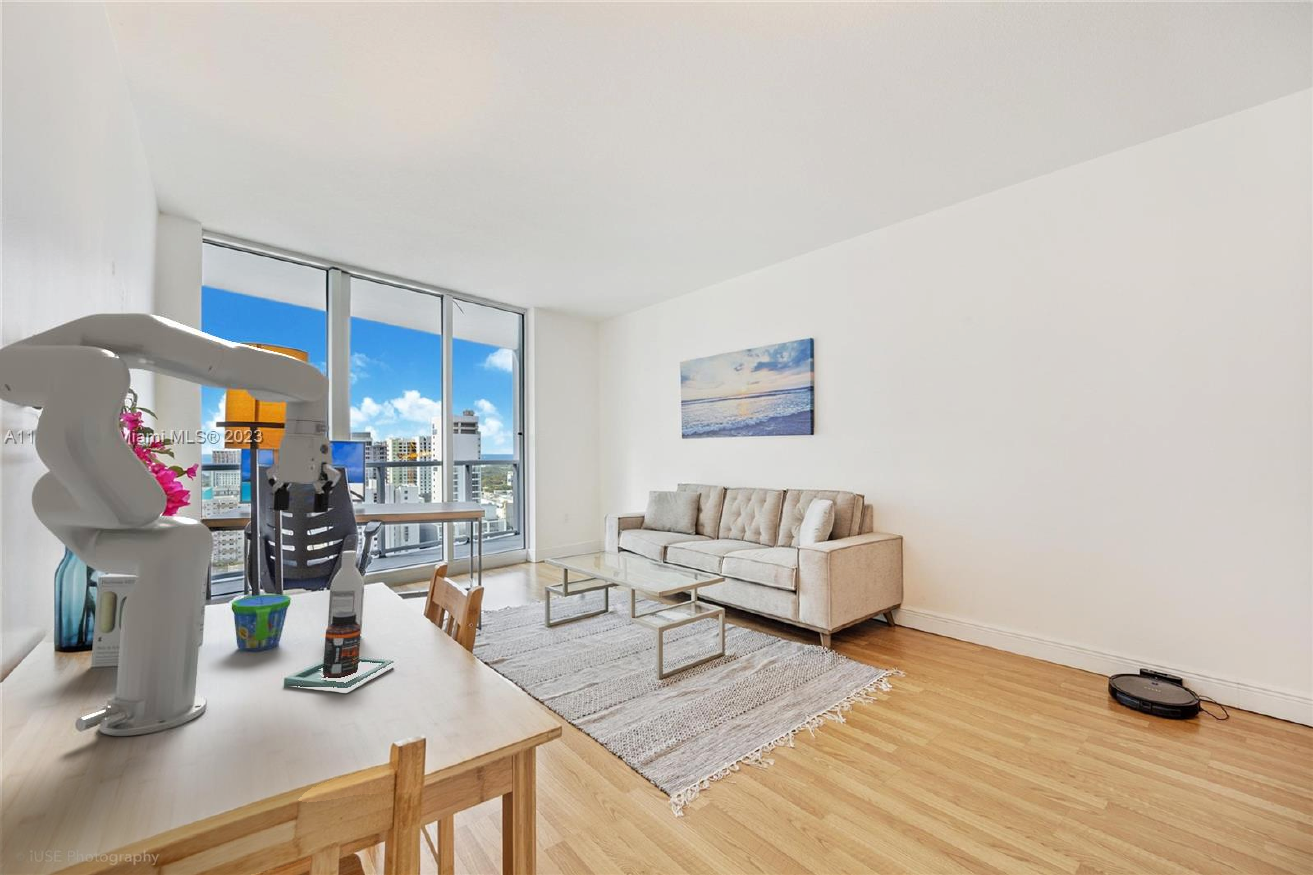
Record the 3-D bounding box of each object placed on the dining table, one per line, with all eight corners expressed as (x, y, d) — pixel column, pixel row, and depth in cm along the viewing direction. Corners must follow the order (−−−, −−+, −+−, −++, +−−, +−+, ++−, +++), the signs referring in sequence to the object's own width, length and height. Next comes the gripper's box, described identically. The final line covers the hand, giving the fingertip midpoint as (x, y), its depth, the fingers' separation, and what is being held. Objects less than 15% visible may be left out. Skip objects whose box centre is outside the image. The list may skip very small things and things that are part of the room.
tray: (346, 694, 99) (346, 685, 100) (283, 686, 102) (284, 678, 102) (393, 668, 112) (393, 660, 112) (336, 662, 115) (337, 654, 115)
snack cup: (286, 654, 118) (289, 605, 119) (223, 661, 113) (227, 610, 113) (289, 633, 132) (291, 590, 132) (233, 639, 126) (236, 594, 127)
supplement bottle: (342, 681, 103) (346, 619, 104) (314, 677, 105) (318, 616, 105) (365, 670, 109) (368, 611, 110) (339, 666, 111) (342, 608, 111)
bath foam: (346, 632, 134) (351, 548, 135) (368, 636, 132) (372, 550, 133) (319, 640, 128) (325, 552, 129) (342, 644, 125) (347, 554, 126)
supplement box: (87, 668, 107) (95, 576, 108) (131, 646, 120) (137, 564, 121) (170, 664, 111) (176, 575, 112) (204, 643, 124) (210, 563, 124)
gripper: (354, 432, 120) (349, 512, 120) (285, 430, 124) (280, 508, 123) (327, 429, 113) (322, 514, 112) (255, 428, 116) (250, 510, 116)
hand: (300, 511), depth 118 cm, fingers open, 9 cm apart
